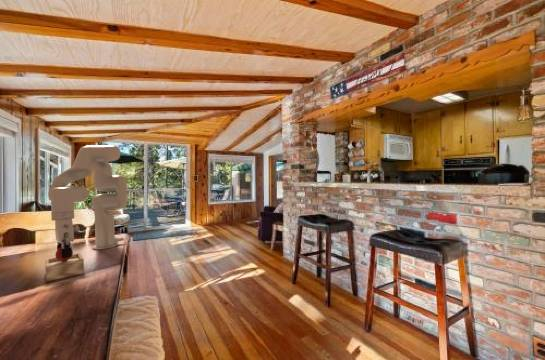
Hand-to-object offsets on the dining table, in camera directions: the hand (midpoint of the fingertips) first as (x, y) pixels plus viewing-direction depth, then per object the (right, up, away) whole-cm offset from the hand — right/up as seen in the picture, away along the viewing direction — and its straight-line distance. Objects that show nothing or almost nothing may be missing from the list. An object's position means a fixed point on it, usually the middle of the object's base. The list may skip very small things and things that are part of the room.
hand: (64, 255), depth 106 cm
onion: (0, -3, 0) cm, 3 cm away
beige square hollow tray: (0, -8, 0) cm, 8 cm away
